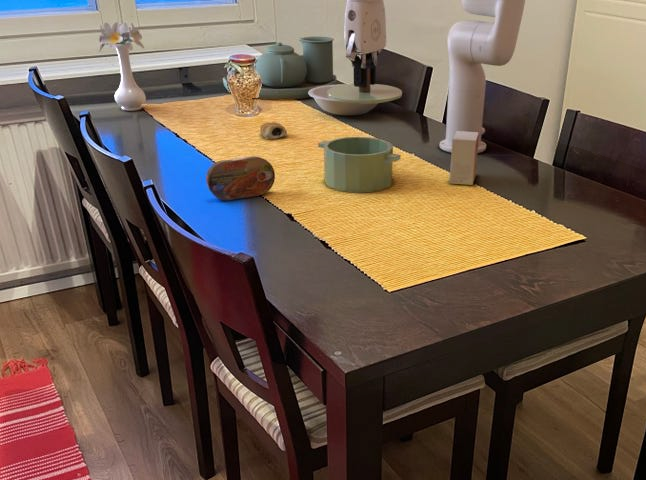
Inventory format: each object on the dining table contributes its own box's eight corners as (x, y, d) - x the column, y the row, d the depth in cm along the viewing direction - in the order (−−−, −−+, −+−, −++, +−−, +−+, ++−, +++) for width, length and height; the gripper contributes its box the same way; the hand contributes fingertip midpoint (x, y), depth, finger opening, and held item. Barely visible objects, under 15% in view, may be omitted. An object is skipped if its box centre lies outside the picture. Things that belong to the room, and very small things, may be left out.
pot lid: (353, 85, 174) (353, 57, 170) (415, 94, 166) (416, 65, 163) (312, 99, 162) (310, 69, 158) (376, 109, 154) (376, 78, 151)
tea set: (304, 74, 286) (303, 27, 277) (357, 93, 257) (357, 42, 249) (206, 83, 267) (201, 34, 259) (251, 105, 239) (247, 51, 230)
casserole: (339, 166, 185) (339, 131, 180) (413, 180, 176) (414, 145, 171) (302, 182, 173) (301, 146, 169) (379, 199, 164) (380, 161, 160)
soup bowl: (400, 112, 235) (400, 90, 232) (357, 127, 218) (357, 104, 214) (338, 101, 246) (338, 81, 242) (293, 115, 228) (292, 93, 225)
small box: (472, 186, 173) (476, 140, 168) (449, 184, 174) (451, 138, 169) (476, 175, 180) (479, 131, 174) (453, 174, 181) (456, 130, 175)
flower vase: (147, 100, 243) (135, 17, 230) (156, 113, 228) (143, 24, 215) (105, 103, 238) (91, 18, 225) (112, 116, 224) (96, 26, 211)
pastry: (255, 132, 211) (254, 118, 209) (277, 130, 214) (276, 116, 212) (266, 140, 204) (265, 126, 202) (289, 138, 206) (289, 124, 205)
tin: (210, 203, 160) (206, 164, 156) (206, 198, 162) (202, 160, 158) (276, 193, 166) (274, 156, 162) (271, 189, 169) (269, 152, 164)
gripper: (358, -3, 145) (359, 94, 155) (399, -10, 157) (398, 81, 167) (326, -6, 149) (329, 90, 158) (369, -12, 160) (369, 77, 170)
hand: (364, 84), depth 163 cm, fingers closed on pot lid, 2 cm apart
